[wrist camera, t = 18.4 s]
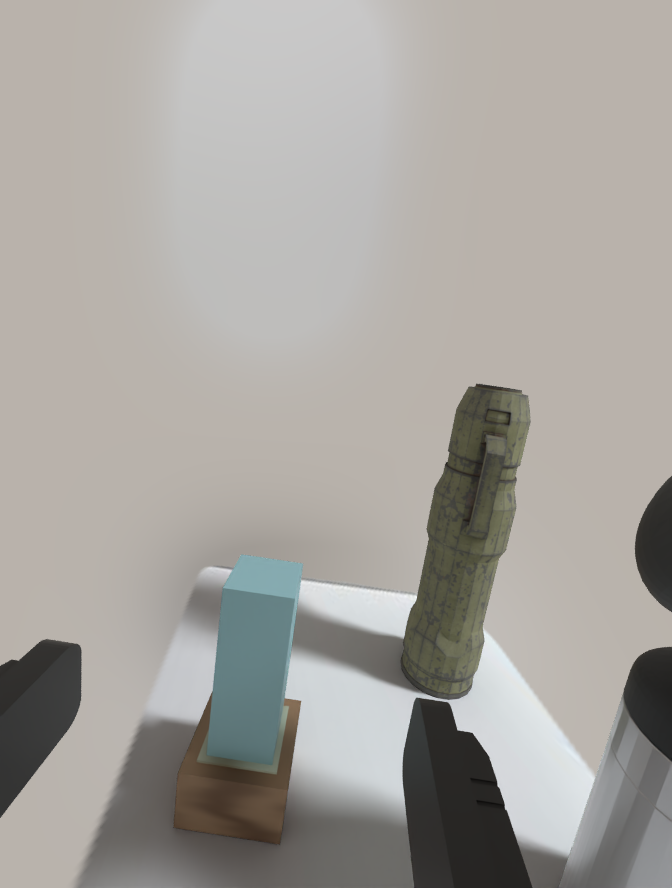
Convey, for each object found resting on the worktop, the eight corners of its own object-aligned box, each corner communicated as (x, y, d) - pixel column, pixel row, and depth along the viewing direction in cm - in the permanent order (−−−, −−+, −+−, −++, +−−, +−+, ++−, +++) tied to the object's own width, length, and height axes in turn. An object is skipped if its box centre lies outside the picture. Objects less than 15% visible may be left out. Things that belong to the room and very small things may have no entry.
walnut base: (294, 746, 39) (301, 699, 38) (279, 844, 31) (288, 788, 30) (209, 733, 39) (214, 685, 38) (173, 827, 31) (178, 770, 30)
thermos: (404, 704, 46) (471, 384, 38) (396, 634, 57) (446, 378, 50) (486, 717, 45) (568, 398, 38) (460, 645, 57) (520, 389, 50)
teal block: (282, 710, 36) (303, 563, 33) (272, 765, 31) (294, 598, 29) (225, 701, 36) (241, 554, 33) (206, 755, 31) (222, 587, 29)
